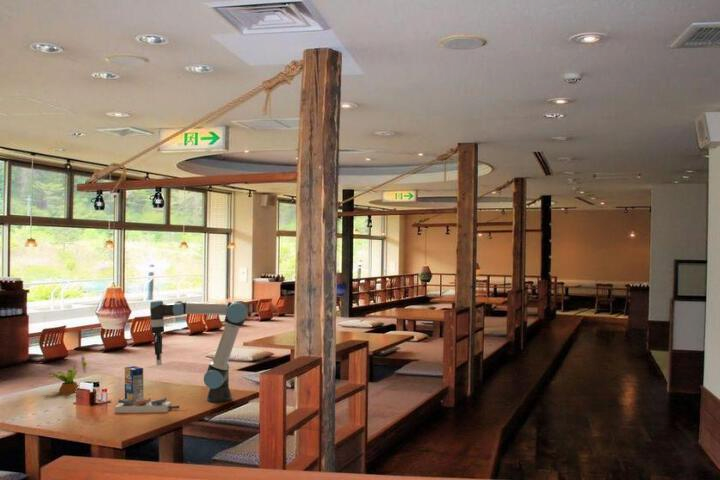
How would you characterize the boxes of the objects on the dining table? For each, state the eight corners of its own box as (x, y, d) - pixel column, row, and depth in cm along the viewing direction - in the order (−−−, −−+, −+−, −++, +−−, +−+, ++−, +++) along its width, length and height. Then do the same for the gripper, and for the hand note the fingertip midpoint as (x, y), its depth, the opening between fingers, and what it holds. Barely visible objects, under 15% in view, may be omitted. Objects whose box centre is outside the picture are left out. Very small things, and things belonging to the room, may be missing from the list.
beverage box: (133, 406, 409) (132, 369, 409) (124, 403, 417) (124, 367, 417) (143, 404, 414) (143, 368, 414) (135, 401, 422) (134, 366, 422)
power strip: (181, 407, 404) (181, 400, 404) (176, 412, 393) (176, 404, 393) (121, 408, 404) (121, 400, 404) (114, 412, 393) (114, 405, 393)
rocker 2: (150, 400, 399) (150, 397, 399) (148, 402, 395) (148, 399, 395) (137, 402, 399) (136, 399, 399) (135, 404, 395) (134, 401, 395)
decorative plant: (83, 394, 441) (83, 356, 441) (44, 396, 436) (43, 358, 436) (90, 386, 468) (90, 350, 468) (52, 388, 462) (52, 351, 462)
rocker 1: (134, 403, 399) (134, 400, 399) (131, 405, 395) (132, 401, 395) (120, 400, 399) (121, 397, 399) (118, 402, 395) (118, 399, 395)
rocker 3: (166, 400, 400) (166, 396, 400) (164, 401, 395) (164, 398, 395) (153, 403, 399) (152, 399, 399) (151, 404, 395) (150, 401, 395)
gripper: (153, 325, 417) (155, 363, 417) (148, 327, 404) (150, 367, 404) (166, 324, 417) (167, 362, 417) (161, 327, 404) (162, 366, 404)
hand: (159, 364), depth 410 cm, fingers closed
